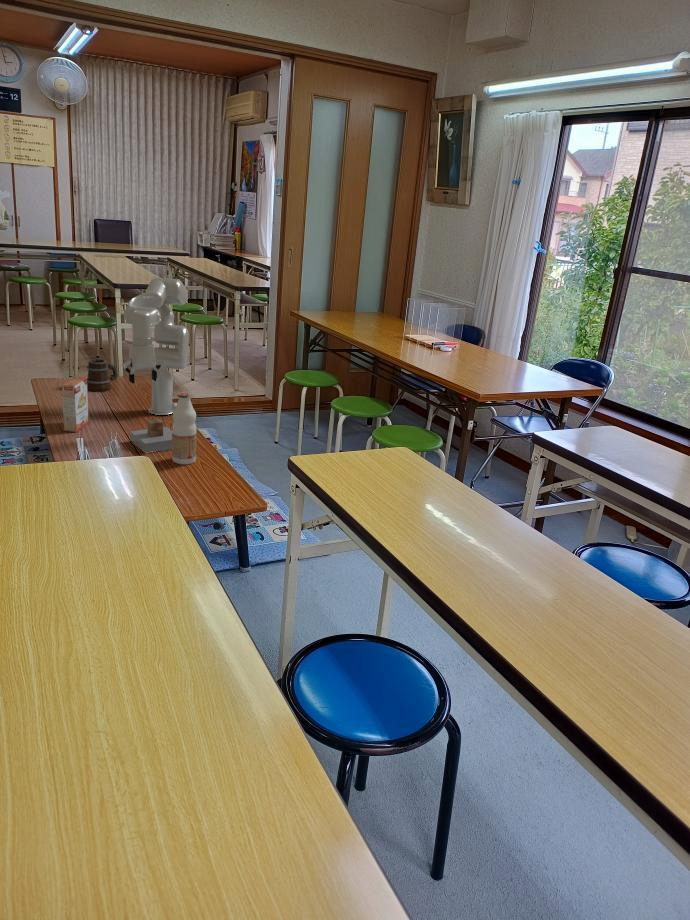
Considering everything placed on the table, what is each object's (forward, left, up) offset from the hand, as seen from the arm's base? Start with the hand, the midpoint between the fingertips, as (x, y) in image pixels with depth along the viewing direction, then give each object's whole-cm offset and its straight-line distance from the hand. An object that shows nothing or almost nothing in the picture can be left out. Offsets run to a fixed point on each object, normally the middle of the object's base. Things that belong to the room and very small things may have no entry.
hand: (143, 381), depth 285 cm
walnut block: (0, +11, -20) cm, 23 cm away
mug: (-9, -77, -25) cm, 81 cm away
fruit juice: (-4, +32, -25) cm, 41 cm away
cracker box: (+21, -23, -25) cm, 40 cm away
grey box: (-1, +11, -25) cm, 28 cm away
